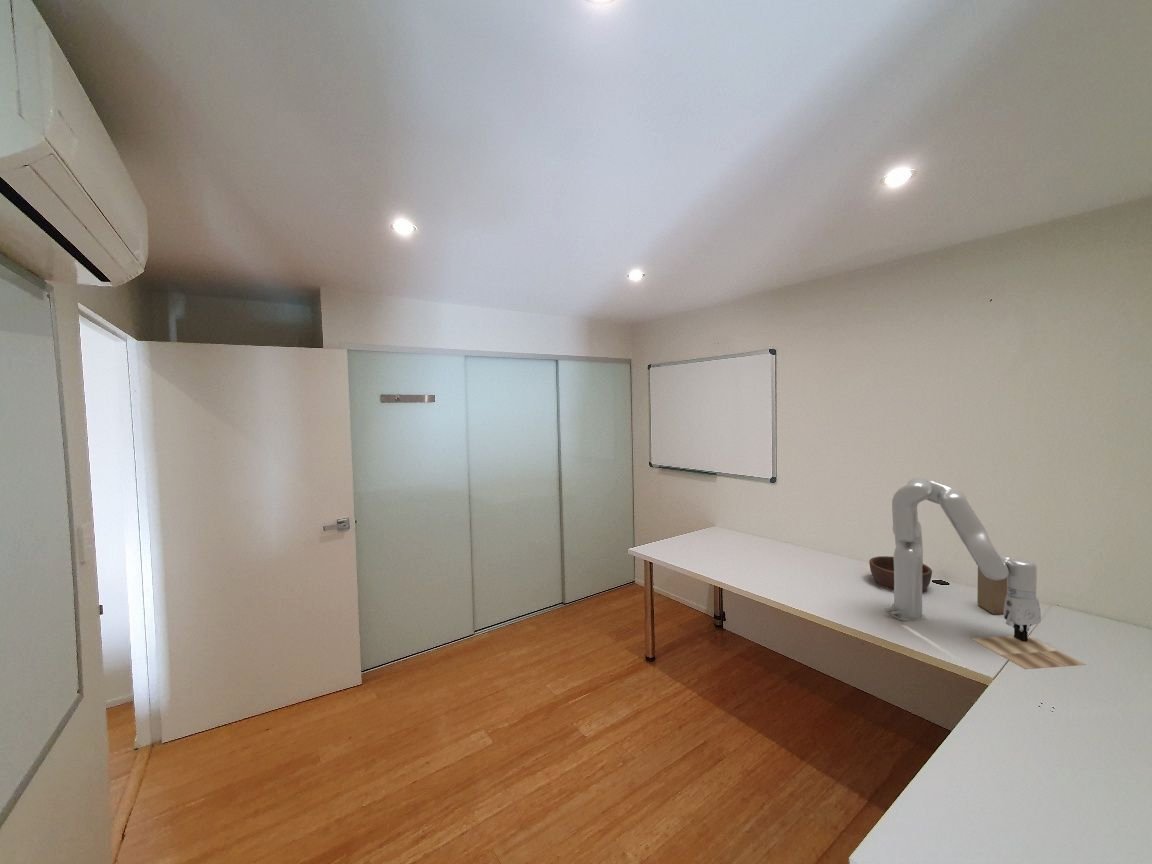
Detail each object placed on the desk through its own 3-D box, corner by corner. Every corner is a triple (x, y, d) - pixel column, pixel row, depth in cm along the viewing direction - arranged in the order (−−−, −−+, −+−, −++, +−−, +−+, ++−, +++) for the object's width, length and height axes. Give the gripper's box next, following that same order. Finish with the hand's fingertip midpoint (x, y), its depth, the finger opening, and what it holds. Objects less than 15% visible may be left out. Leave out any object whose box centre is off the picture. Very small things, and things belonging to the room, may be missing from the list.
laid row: (1025, 673, 140) (1025, 668, 140) (999, 658, 148) (1000, 654, 148) (1086, 668, 141) (1086, 664, 141) (1058, 654, 149) (1058, 650, 149)
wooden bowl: (913, 575, 219) (913, 556, 218) (944, 597, 195) (944, 576, 194) (860, 573, 225) (860, 555, 224) (883, 594, 200) (883, 573, 200)
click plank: (999, 658, 148) (999, 654, 148) (971, 642, 158) (971, 638, 158) (1056, 654, 149) (1057, 650, 149) (1025, 638, 159) (1025, 635, 159)
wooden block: (1021, 617, 175) (1022, 571, 173) (993, 615, 177) (994, 570, 175) (1002, 606, 184) (1003, 562, 183) (976, 604, 186) (976, 561, 185)
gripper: (1013, 598, 152) (1012, 646, 153) (1052, 595, 152) (1051, 643, 153) (992, 589, 159) (991, 635, 160) (1028, 586, 160) (1028, 633, 161)
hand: (1020, 639), depth 157 cm, fingers closed
